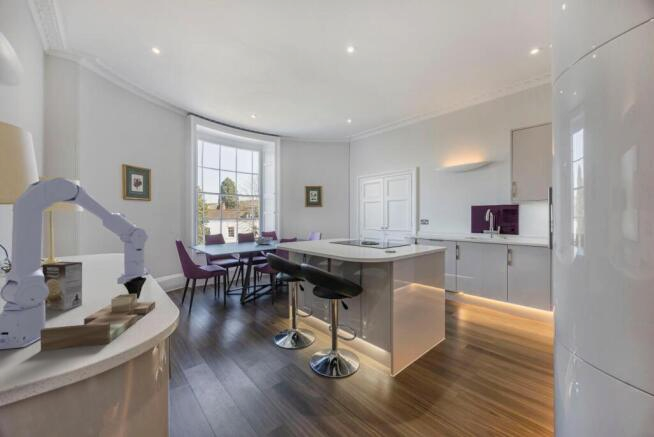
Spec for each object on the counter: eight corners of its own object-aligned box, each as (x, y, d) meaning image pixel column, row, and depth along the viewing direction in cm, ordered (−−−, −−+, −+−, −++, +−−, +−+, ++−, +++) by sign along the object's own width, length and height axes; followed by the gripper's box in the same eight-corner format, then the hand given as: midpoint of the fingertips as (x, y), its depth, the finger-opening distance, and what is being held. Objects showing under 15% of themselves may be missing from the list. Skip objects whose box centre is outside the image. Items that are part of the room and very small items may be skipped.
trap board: (107, 343, 66) (107, 324, 66) (40, 350, 62) (40, 329, 62) (155, 306, 93) (155, 293, 93) (110, 310, 90) (110, 295, 90)
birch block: (129, 310, 84) (129, 297, 84) (111, 311, 83) (111, 299, 83) (136, 305, 89) (136, 293, 89) (120, 306, 88) (120, 294, 88)
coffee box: (41, 310, 91) (40, 264, 91) (61, 304, 97) (61, 261, 97) (64, 310, 90) (64, 264, 90) (83, 304, 96) (83, 261, 96)
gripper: (135, 258, 99) (135, 293, 99) (107, 265, 85) (107, 306, 85) (154, 257, 100) (155, 292, 100) (130, 264, 86) (130, 305, 86)
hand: (134, 299), depth 93 cm, fingers closed
